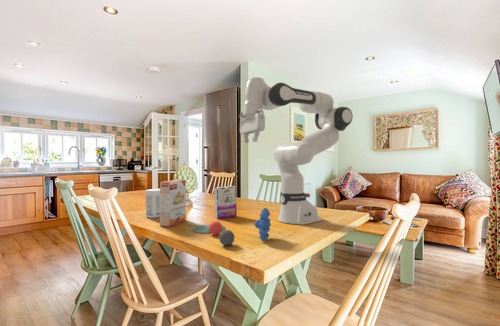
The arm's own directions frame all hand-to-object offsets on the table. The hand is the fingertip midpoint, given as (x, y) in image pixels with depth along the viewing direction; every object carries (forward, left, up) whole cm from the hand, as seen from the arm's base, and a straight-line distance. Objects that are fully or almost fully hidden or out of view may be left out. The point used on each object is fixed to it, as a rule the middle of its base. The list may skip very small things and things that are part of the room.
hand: (250, 142), depth 116 cm
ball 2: (+19, +20, -36) cm, 45 cm away
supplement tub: (+39, -41, -39) cm, 69 cm away
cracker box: (+32, -21, -39) cm, 55 cm away
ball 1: (+19, +6, -36) cm, 41 cm away
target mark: (+19, -3, -39) cm, 43 cm away
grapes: (+4, +20, -39) cm, 44 cm away
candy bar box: (+5, -22, -39) cm, 45 cm away
